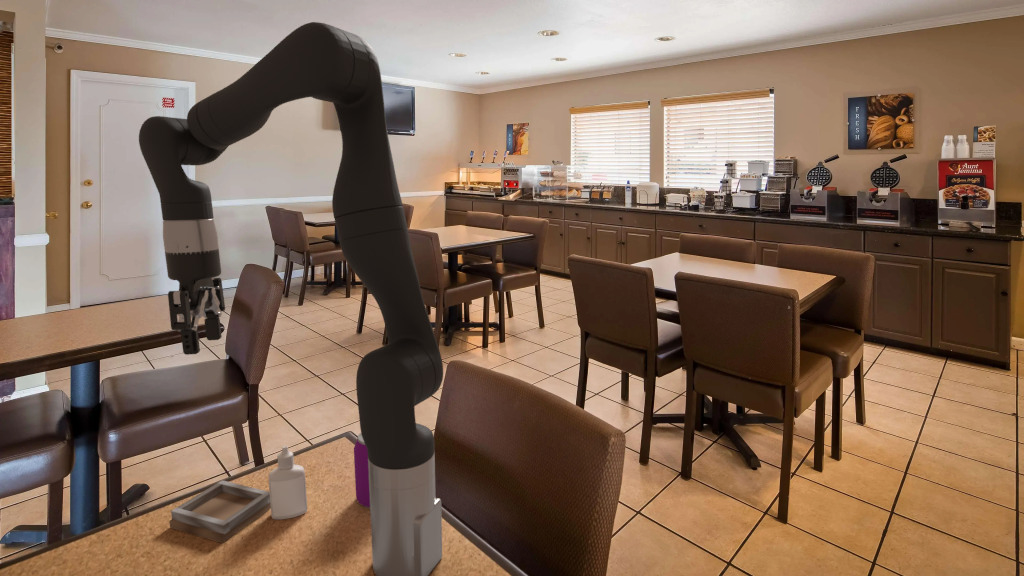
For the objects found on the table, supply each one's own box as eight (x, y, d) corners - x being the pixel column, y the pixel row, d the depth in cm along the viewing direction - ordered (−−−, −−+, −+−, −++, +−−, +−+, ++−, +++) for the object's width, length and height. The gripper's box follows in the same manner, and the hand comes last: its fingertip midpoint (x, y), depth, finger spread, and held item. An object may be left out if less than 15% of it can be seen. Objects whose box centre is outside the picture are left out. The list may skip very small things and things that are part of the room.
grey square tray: (274, 505, 97) (273, 490, 96) (222, 543, 87) (220, 527, 86) (225, 492, 100) (224, 478, 100) (170, 527, 90) (168, 512, 90)
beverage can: (386, 482, 104) (384, 421, 102) (409, 499, 99) (407, 435, 97) (348, 498, 99) (344, 434, 97) (370, 517, 94) (367, 450, 91)
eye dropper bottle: (299, 522, 92) (294, 454, 90) (266, 519, 93) (261, 452, 90) (311, 507, 96) (307, 441, 94) (280, 504, 97) (275, 439, 95)
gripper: (197, 252, 83) (209, 358, 86) (233, 243, 97) (243, 334, 100) (143, 254, 82) (157, 360, 85) (187, 244, 96) (198, 336, 99)
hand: (203, 346), depth 93 cm, fingers open, 8 cm apart
